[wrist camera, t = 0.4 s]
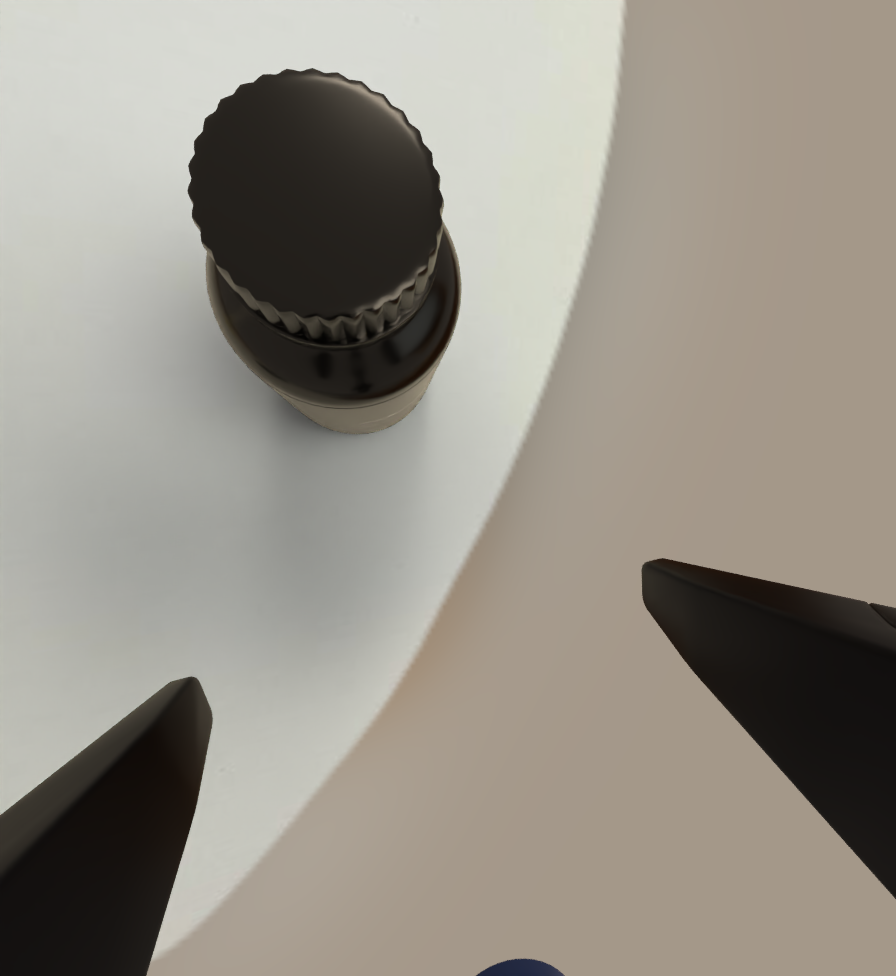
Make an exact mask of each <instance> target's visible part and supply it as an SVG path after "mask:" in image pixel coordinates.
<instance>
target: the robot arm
mask: <svg viewBox="0 0 896 976" xmlns="http://www.w3.org/2000/svg"><path fill="white" fill-rule="evenodd" d="M642 595H643V601H644V604H645V606H646V608H647V610H648V611H649V612H650V614H651V615H652V617H653V618H654V619H655V621H656V622H657V623H658V625H659V626H660V628H661V629H662V630H663V632H664V633H665V634H666V636H667V637H668V638H669V640H670V641H671V642H672V644H673V645H674V647H675V648H676V649H677V651H678V652H679V654H680V655H681V656H682V658H683V659H684V660H685V662H686V663H687V664H688V665H689V667H690V668H691V669H692V670H693V671H694V673H695V674H696V675H697V676H698V677H699V678H700V680H701V681H702V682H703V683H704V684H705V685H706V686H707V688H708V689H709V690H710V691H711V692H712V693H713V694H714V695H715V697H716V698H717V699H718V700H719V701H720V702H721V703H722V704H723V706H724V707H725V708H726V709H727V710H728V711H729V712H730V713H731V714H732V716H733V717H734V718H735V719H736V720H737V721H738V722H739V723H740V725H741V726H742V727H743V728H744V729H745V730H746V731H747V732H748V734H749V735H750V736H751V737H752V738H753V739H754V740H755V741H756V743H757V744H758V745H759V746H760V747H761V748H762V749H763V750H764V751H765V753H766V754H767V755H768V756H769V757H770V758H771V759H772V761H773V762H774V763H775V764H776V765H777V766H778V767H779V768H780V770H781V771H782V772H783V773H784V774H785V775H786V776H787V777H788V779H789V780H790V781H791V782H792V783H793V784H794V785H795V786H796V788H797V789H798V790H799V791H800V792H801V793H802V794H803V795H804V796H805V798H806V799H807V800H808V801H809V802H810V803H811V804H812V805H813V807H814V808H815V809H816V810H817V811H818V812H819V813H820V814H821V816H822V817H823V818H824V819H825V820H826V821H827V822H828V823H829V825H830V826H831V827H832V828H833V829H834V830H835V831H836V832H837V834H838V835H839V836H840V837H841V838H842V839H843V840H844V841H845V843H846V844H847V845H848V846H849V847H850V848H851V849H852V850H853V852H854V853H855V854H856V855H857V856H858V857H859V858H860V859H861V860H862V862H863V863H864V864H865V865H866V866H867V867H868V868H869V869H870V870H871V872H872V873H873V874H874V875H875V876H876V877H877V878H878V880H879V881H880V882H881V883H882V884H883V885H884V886H885V887H886V889H887V890H888V891H889V892H890V893H891V894H892V895H893V896H894V898H895V899H896V608H893V607H888V606H884V605H879V604H874V603H871V604H868V603H867V602H864V601H860V600H855V599H851V598H846V597H841V596H836V595H832V594H827V593H823V592H817V591H813V590H809V589H804V588H799V587H794V586H790V585H785V584H780V583H775V582H771V581H766V580H762V579H757V578H752V577H747V576H743V575H739V574H734V573H729V572H724V571H720V570H715V569H711V568H706V567H701V566H697V565H691V564H687V563H683V562H678V561H673V560H668V559H663V558H662V559H657V560H653V561H649V562H646V563H645V564H644V565H643V567H642ZM212 722H213V717H212V711H211V708H210V706H209V703H208V701H207V698H206V696H205V694H204V691H203V689H202V686H201V684H200V682H199V680H198V679H197V678H195V677H187V678H183V679H179V680H175V681H172V682H170V683H168V684H167V685H165V686H164V687H163V688H162V689H160V690H159V691H158V692H157V693H155V694H154V695H153V696H151V697H150V698H149V699H148V700H146V701H145V702H144V703H143V704H141V705H140V706H139V707H137V708H136V709H135V710H134V711H132V712H131V713H130V714H129V715H127V716H126V717H125V718H123V719H122V720H121V721H120V722H118V723H117V724H116V725H115V726H113V727H112V728H111V729H109V730H108V731H107V732H106V733H104V734H103V735H102V736H101V737H99V738H98V739H97V740H95V741H94V742H93V743H92V744H90V745H89V746H88V747H87V748H85V749H84V750H83V751H81V752H80V753H79V754H78V755H76V756H75V757H74V758H73V759H71V760H70V761H69V762H67V763H66V764H65V765H64V766H62V767H61V768H60V769H59V770H57V771H56V772H55V773H53V774H52V775H51V776H50V777H48V778H47V779H46V780H45V781H43V782H42V783H41V784H39V785H38V786H37V787H36V788H34V789H33V790H32V791H31V792H29V793H28V794H27V795H25V796H24V797H23V798H22V799H20V800H19V801H18V802H17V803H15V804H14V805H13V806H11V807H10V808H9V809H8V810H6V811H5V812H4V813H3V814H1V815H0V976H146V975H147V971H148V968H149V965H150V961H151V958H152V955H153V951H154V948H155V945H156V941H157V938H158V934H159V931H160V928H161V924H162V921H163V918H164V914H165V911H166V908H167V904H168V901H169V898H170V894H171V891H172V888H173V884H174V881H175V878H176V874H177V871H178V868H179V864H180V861H181V858H182V854H183V851H184V848H185V844H186V841H187V838H188V834H189V831H190V828H191V824H192V820H193V817H194V813H195V809H196V805H197V800H198V796H199V791H200V786H201V780H202V775H203V770H204V765H205V760H206V755H207V749H208V744H209V739H210V734H211V729H212Z"/></svg>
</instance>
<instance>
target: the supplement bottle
mask: <svg viewBox="0 0 896 976" xmlns="http://www.w3.org/2000/svg"><path fill="white" fill-rule="evenodd" d="M194 151H195V155H194V156H193V158H192V159H191V161H190V163H189V165H188V167H189V172H190V175H191V178H192V179H191V182H190V184H189V187H188V194H189V197H190V199H191V201H192V203H193V210H192V218H193V221H194V223H195V225H196V226H197V227H198V229H199V230H200V232H201V241H202V244H203V247H204V248H205V250H206V251H207V256H206V282H207V290H208V295H209V299H210V303H211V307H212V310H213V313H214V315H215V318H216V321H217V323H218V325H219V327H220V329H221V331H222V333H223V335H224V337H225V338H226V340H227V342H228V343H229V345H230V346H231V347H232V349H233V350H234V352H235V353H236V354H237V355H238V356H239V358H240V359H241V360H242V361H243V362H244V363H245V364H246V366H247V367H248V368H249V369H250V370H251V371H252V372H253V373H255V374H256V375H257V376H258V377H259V378H260V379H261V380H262V381H264V382H265V383H266V384H267V385H268V386H270V387H271V388H272V389H273V390H274V391H276V392H277V393H278V394H279V395H281V396H282V397H283V398H284V399H285V400H287V401H288V402H289V403H290V404H291V405H293V406H294V407H295V408H296V409H297V410H299V411H300V412H301V413H302V414H304V415H305V416H306V417H308V418H309V419H311V420H312V421H314V422H315V423H317V424H319V425H321V426H323V427H325V428H328V429H330V430H334V431H337V432H342V433H348V434H367V433H373V432H377V431H380V430H383V429H386V428H388V427H390V426H392V425H394V424H396V423H398V422H399V421H401V420H402V419H403V418H405V417H406V416H407V415H408V414H409V413H410V412H411V411H412V410H413V409H414V408H415V407H416V405H417V404H418V403H419V401H420V400H421V398H422V397H423V395H424V393H425V391H426V389H427V387H428V385H429V383H430V381H431V379H432V377H433V375H434V373H435V371H436V369H437V367H438V365H439V363H440V361H441V359H442V357H443V355H444V353H445V351H446V349H447V347H448V345H449V343H450V340H451V338H452V335H453V333H454V329H455V326H456V322H457V319H458V315H459V309H460V302H461V276H460V267H459V262H458V257H457V254H456V250H455V247H454V244H453V241H452V239H451V237H450V234H449V232H448V230H447V228H446V226H445V224H444V222H443V220H442V218H441V216H442V212H443V207H444V200H443V197H442V195H441V192H440V190H439V188H440V176H439V174H438V172H437V170H436V169H435V168H434V166H433V158H432V152H431V151H430V150H429V149H428V148H427V147H426V146H425V145H424V144H423V141H422V137H421V134H420V131H419V130H418V129H417V128H415V127H414V126H412V125H411V124H410V123H409V122H408V119H407V117H406V115H405V114H404V112H403V111H402V110H400V109H398V108H396V107H394V106H392V105H391V103H390V102H389V101H388V99H387V98H386V97H385V96H384V94H381V93H378V92H374V91H371V90H370V89H369V88H368V87H367V86H366V85H365V84H364V83H363V82H362V81H356V80H348V79H347V78H345V77H344V76H342V75H341V74H339V73H323V72H321V71H318V70H316V69H313V68H311V69H307V70H305V71H301V72H300V71H295V70H290V69H286V70H284V71H282V72H281V73H279V74H277V75H271V74H266V75H262V76H260V77H259V78H258V79H257V80H256V81H255V82H254V83H247V84H242V85H240V86H239V87H238V88H237V90H236V92H235V93H234V94H233V95H231V96H228V97H225V98H223V99H221V100H220V102H219V104H218V107H217V110H216V111H215V112H214V113H213V114H210V115H209V116H208V117H206V118H205V121H204V126H203V132H202V133H201V134H200V135H199V136H198V137H197V138H196V139H195V141H194Z"/></svg>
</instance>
